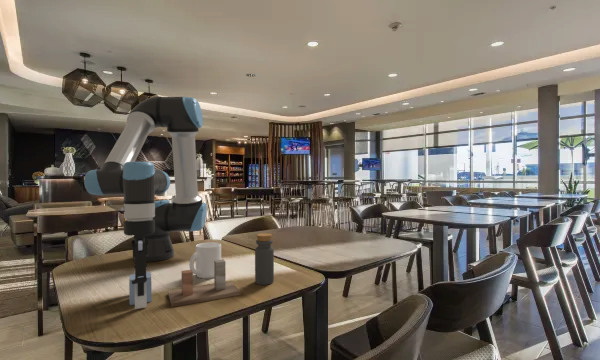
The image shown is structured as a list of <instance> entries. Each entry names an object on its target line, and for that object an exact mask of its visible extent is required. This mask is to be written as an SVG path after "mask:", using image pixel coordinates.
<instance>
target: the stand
mask: <svg viewBox="0 0 600 360" xmlns="http://www.w3.org/2000/svg"><path fill="white" fill-rule="evenodd" d="M226 275H227V274H226V260H225V259H223V258H221V260H214V278H213V279H214V282H213V283H209V284H204V285H203V284H202V285H197V286H194V279H193V278H194V274H193V272H192V270H190V269H187V270H186V269H185V270H181V288H178V289H177V288H176V289H172V290H171V289H170V290H167V296H168V299H169V303H170V305H171V308H175V307H176V308H177V307H180V306H184V305H185V306H186V305H190V304H197V303H202V302H208V301H213V300H220V299H225V298H231V297H235V296H241V290H240V289H239V288H238V287H237V286H236V285H235V284H234V283H233V282H232V281H231V280H228V281H226Z"/></svg>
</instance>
